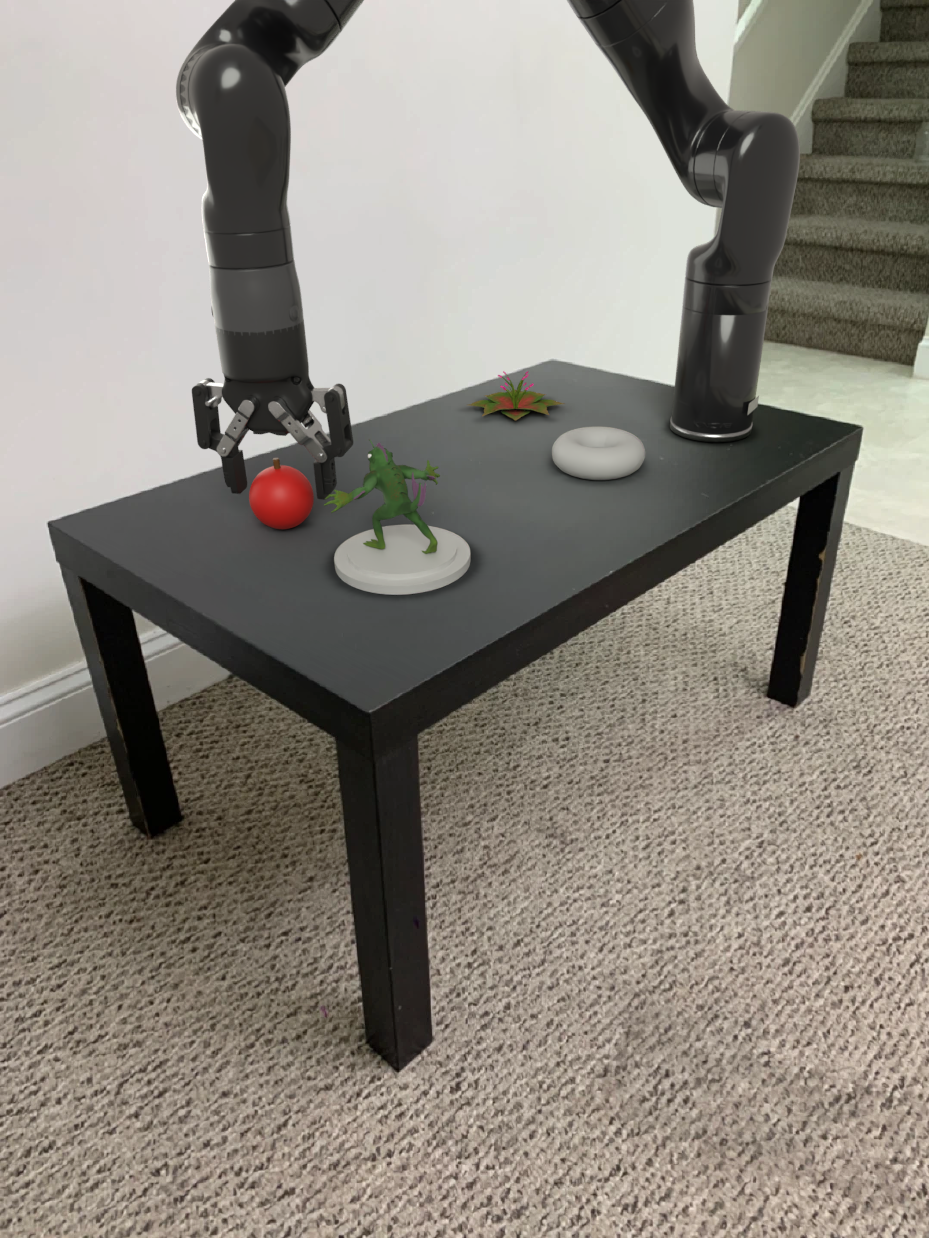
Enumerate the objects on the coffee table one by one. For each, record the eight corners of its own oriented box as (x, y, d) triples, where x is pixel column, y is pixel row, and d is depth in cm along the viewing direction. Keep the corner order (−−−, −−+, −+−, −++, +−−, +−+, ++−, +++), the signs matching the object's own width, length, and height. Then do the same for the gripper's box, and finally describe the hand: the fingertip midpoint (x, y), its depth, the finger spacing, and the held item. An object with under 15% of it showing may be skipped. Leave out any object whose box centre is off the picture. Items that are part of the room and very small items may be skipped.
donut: (545, 483, 98) (642, 487, 96) (545, 452, 97) (644, 455, 95) (557, 450, 107) (646, 453, 105) (557, 420, 105) (648, 423, 103)
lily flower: (515, 432, 112) (515, 394, 109) (448, 409, 119) (447, 374, 117) (582, 409, 119) (584, 373, 116) (515, 389, 126) (515, 355, 124)
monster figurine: (423, 521, 90) (418, 418, 85) (497, 567, 82) (497, 456, 77) (311, 555, 85) (298, 447, 79) (378, 609, 76) (369, 491, 71)
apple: (268, 510, 93) (258, 445, 90) (325, 514, 92) (317, 448, 88) (244, 538, 88) (232, 469, 85) (304, 542, 87) (294, 473, 84)
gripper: (352, 310, 82) (365, 483, 90) (201, 305, 85) (228, 474, 93) (323, 331, 76) (340, 515, 84) (161, 325, 78) (194, 504, 87)
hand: (281, 493), depth 89 cm, fingers open, 8 cm apart
